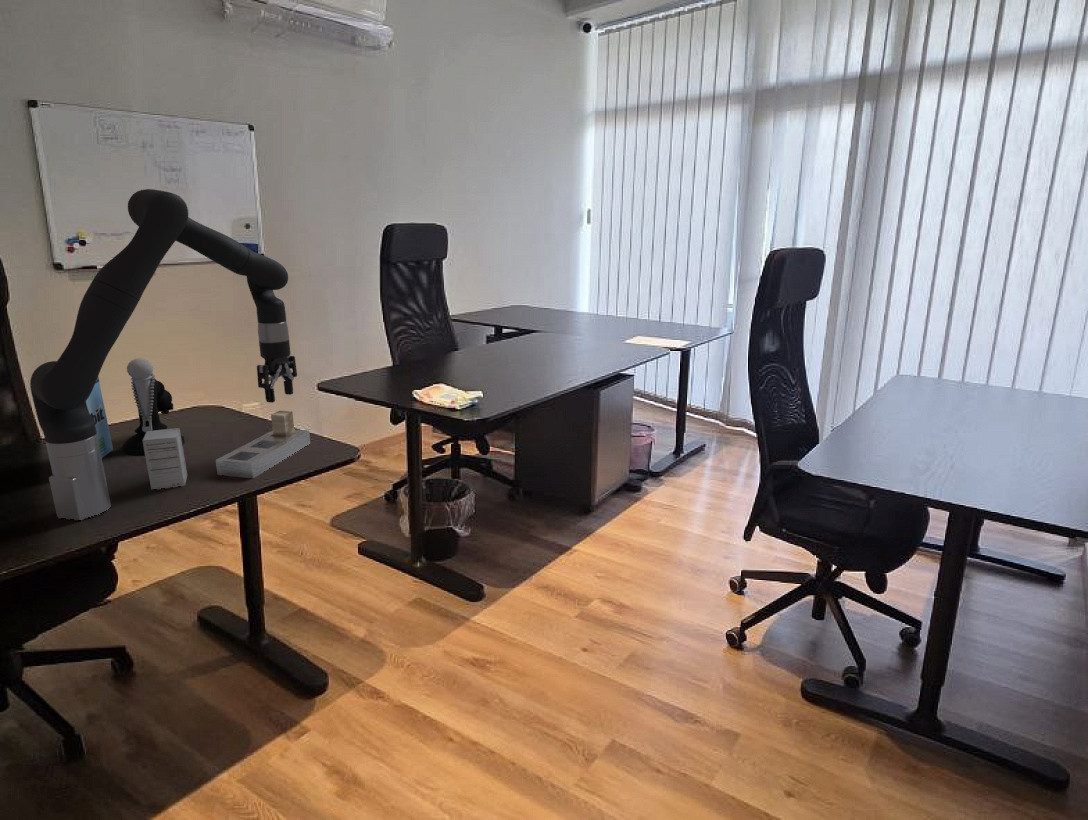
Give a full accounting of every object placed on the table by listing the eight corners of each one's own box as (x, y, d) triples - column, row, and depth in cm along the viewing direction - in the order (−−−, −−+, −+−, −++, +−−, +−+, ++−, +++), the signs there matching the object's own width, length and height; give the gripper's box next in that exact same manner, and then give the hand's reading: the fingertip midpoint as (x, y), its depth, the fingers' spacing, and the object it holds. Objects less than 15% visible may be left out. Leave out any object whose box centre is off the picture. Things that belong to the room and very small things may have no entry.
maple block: (287, 450, 192) (283, 415, 189) (275, 449, 193) (270, 414, 190) (296, 446, 195) (292, 411, 192) (283, 444, 196) (279, 410, 193)
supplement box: (154, 479, 172) (146, 430, 168) (188, 475, 174) (180, 427, 171) (150, 490, 165) (141, 440, 162) (185, 486, 168) (177, 436, 164)
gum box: (80, 476, 174) (61, 386, 168) (57, 477, 174) (38, 387, 167) (114, 449, 193) (98, 368, 186) (94, 450, 192) (77, 369, 186)
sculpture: (115, 457, 187) (97, 365, 180) (140, 430, 209) (125, 348, 202) (177, 452, 191) (163, 362, 184) (195, 426, 213) (183, 345, 206)
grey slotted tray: (253, 478, 172) (251, 463, 171) (217, 475, 175) (215, 459, 174) (310, 444, 197) (309, 430, 196) (278, 441, 199) (277, 428, 198)
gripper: (270, 344, 178) (277, 406, 183) (301, 334, 191) (307, 392, 196) (244, 343, 180) (251, 404, 184) (277, 333, 193) (283, 390, 197)
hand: (280, 398), depth 190 cm, fingers open, 8 cm apart
